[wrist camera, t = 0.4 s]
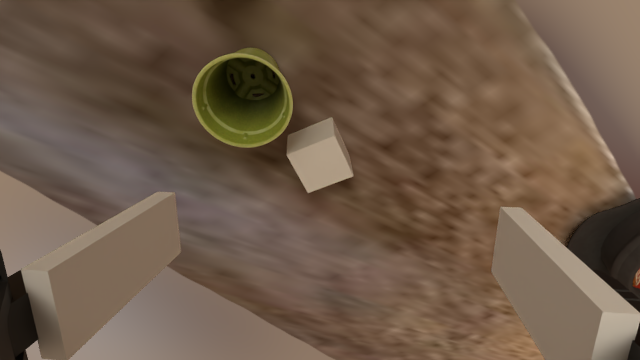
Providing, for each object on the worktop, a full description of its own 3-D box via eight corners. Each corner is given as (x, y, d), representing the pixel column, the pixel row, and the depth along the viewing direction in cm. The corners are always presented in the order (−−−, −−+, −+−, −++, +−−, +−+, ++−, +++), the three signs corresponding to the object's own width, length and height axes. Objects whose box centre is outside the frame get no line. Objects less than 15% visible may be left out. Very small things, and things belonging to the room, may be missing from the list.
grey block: (307, 171, 51) (308, 193, 47) (287, 134, 48) (286, 154, 43) (349, 154, 50) (353, 176, 45) (331, 116, 46) (334, 135, 42)
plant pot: (198, 40, 41) (175, 65, 34) (283, 22, 40) (279, 44, 33) (226, 118, 46) (212, 155, 39) (302, 103, 45) (302, 138, 38)
